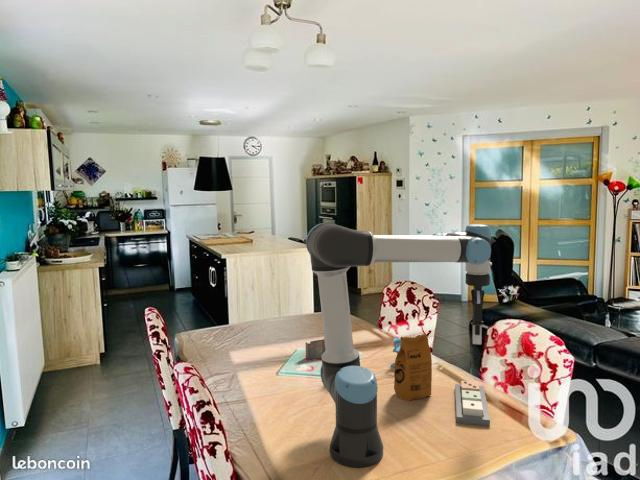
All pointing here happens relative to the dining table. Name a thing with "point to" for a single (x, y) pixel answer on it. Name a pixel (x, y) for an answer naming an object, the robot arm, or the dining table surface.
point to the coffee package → (413, 368)
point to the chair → (396, 347)
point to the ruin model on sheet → (315, 349)
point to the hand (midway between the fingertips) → (476, 343)
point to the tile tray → (466, 418)
